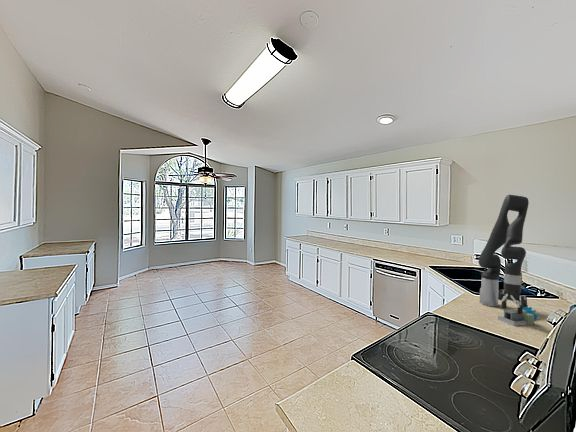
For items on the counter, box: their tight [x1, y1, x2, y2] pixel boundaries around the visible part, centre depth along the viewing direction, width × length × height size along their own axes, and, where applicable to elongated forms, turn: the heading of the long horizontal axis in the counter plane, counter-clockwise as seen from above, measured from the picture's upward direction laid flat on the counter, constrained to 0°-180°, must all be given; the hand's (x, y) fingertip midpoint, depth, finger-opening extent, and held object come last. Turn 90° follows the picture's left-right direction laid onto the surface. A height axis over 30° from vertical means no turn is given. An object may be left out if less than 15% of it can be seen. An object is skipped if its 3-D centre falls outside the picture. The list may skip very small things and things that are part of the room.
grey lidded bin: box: [503, 308, 523, 321], centre depth 156 cm, size 7×5×5 cm
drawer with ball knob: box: [497, 308, 535, 327], centre depth 156 cm, size 10×13×6 cm
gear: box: [523, 304, 538, 321], centre depth 164 cm, size 11×6×10 cm
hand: (511, 311), depth 156 cm, fingers open, 8 cm apart
